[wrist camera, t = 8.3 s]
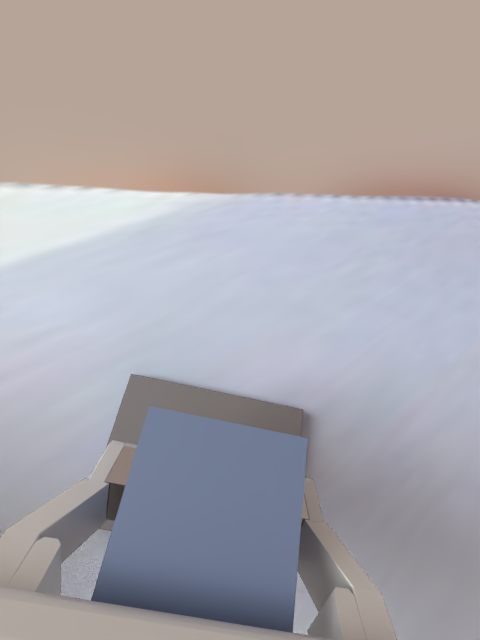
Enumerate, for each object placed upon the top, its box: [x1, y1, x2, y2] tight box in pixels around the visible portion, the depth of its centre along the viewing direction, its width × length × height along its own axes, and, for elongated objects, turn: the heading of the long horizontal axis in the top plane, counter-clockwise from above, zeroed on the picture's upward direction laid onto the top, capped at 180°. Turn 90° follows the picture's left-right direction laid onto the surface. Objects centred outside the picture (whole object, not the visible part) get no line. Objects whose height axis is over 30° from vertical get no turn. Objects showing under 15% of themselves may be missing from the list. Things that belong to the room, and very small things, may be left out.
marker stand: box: [99, 374, 303, 531], centre depth 18 cm, size 14×10×8 cm
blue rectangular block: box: [91, 406, 308, 633], centre depth 11 cm, size 5×5×9 cm
